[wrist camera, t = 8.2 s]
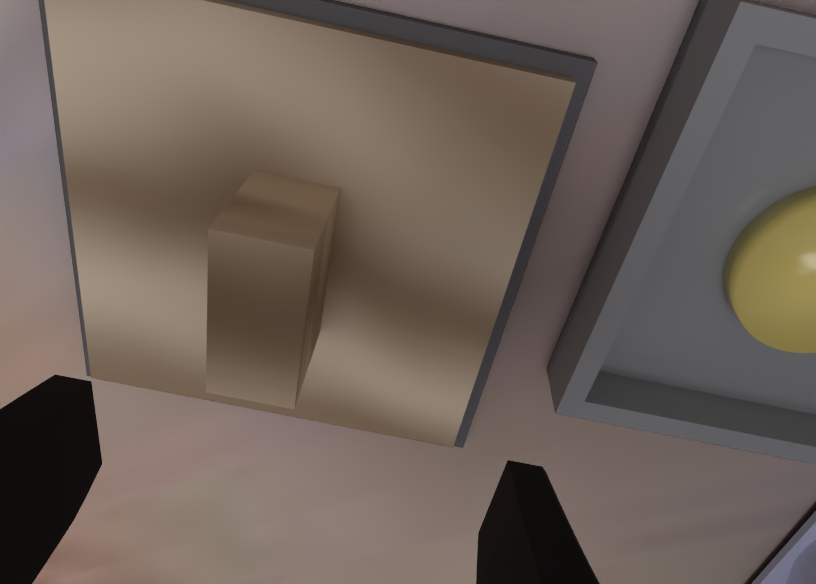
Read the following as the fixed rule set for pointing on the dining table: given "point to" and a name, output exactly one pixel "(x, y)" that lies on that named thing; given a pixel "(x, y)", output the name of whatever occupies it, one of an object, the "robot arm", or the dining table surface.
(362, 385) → the lid
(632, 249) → the dish
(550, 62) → the mat
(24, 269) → the dining table surface
